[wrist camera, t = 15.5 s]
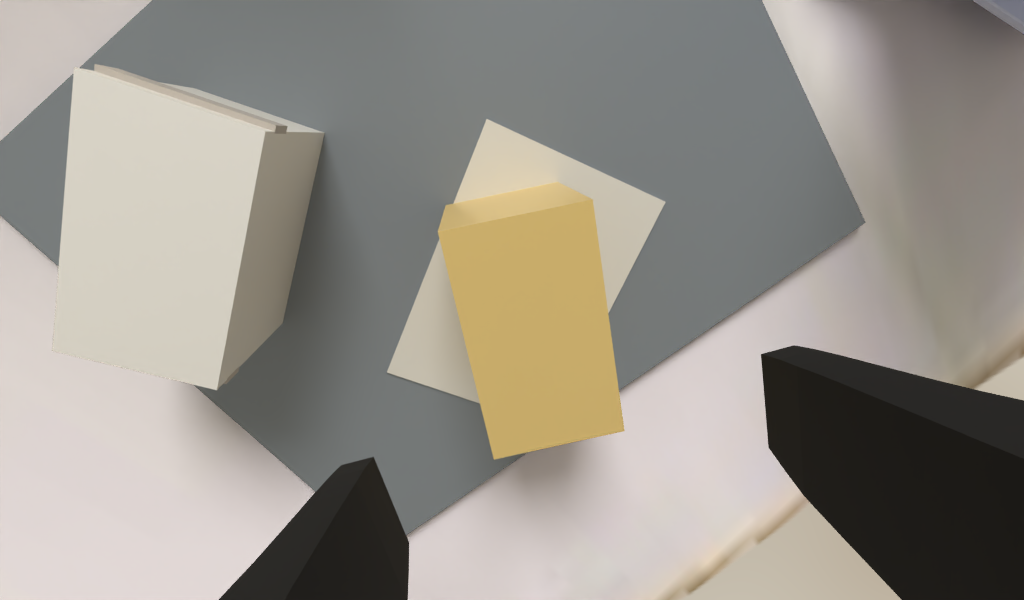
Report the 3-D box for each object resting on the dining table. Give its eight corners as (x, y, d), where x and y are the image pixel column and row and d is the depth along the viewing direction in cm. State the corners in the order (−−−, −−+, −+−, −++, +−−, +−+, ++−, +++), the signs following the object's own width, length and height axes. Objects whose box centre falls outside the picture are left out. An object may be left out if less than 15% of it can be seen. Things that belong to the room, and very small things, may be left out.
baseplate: (574, -380, 13) (578, -399, 12) (857, 220, 19) (867, 223, 19) (-29, 178, 16) (-44, 179, 15) (384, 543, 22) (382, 552, 22)
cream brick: (325, 128, 16) (266, 124, 11) (281, 326, 18) (215, 395, 13) (195, 83, 15) (74, 60, 11) (164, 296, 17) (51, 356, 13)
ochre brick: (557, 181, 17) (592, 199, 12) (585, 359, 19) (624, 430, 15) (445, 205, 17) (437, 231, 12) (487, 380, 19) (494, 459, 15)
